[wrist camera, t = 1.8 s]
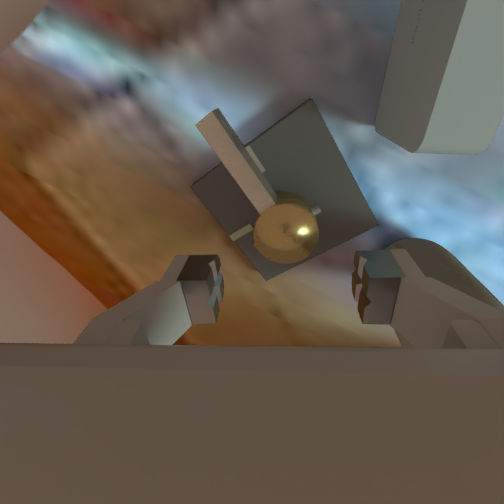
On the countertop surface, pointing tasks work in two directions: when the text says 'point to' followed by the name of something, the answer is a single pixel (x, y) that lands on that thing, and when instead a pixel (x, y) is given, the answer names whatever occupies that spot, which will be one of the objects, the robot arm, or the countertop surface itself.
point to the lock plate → (291, 186)
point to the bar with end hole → (444, 77)
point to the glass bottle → (443, 272)
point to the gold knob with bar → (264, 198)
